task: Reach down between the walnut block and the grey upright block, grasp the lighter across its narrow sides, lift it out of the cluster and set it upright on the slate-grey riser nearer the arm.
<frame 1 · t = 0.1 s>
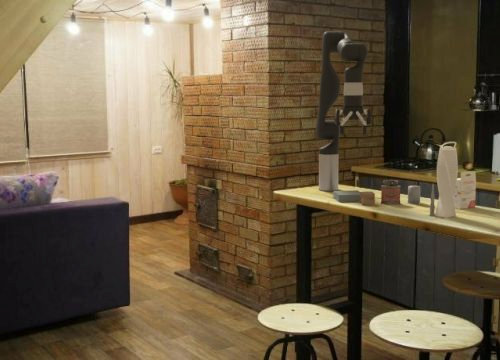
hand: (352, 135, 246), 29 cm above the bar counter, fingers open, 8 cm apart
grey upright block: (413, 202, 257), on the bar counter
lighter: (390, 203, 256), on the bar counter
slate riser: (348, 199, 267), on the bar counter
skyscraper: (444, 217, 230), on the bar counter
ink cartridge box: (462, 207, 246), on the bar counter
walnut block: (367, 204, 256), on the bar counter
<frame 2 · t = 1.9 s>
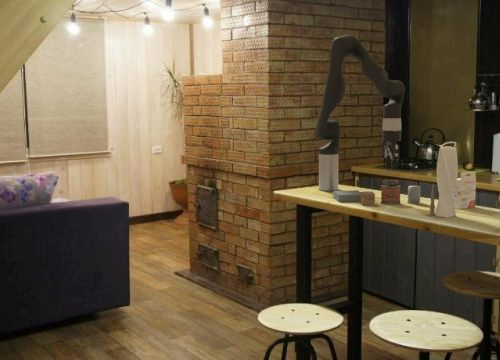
hand: (391, 168, 254), 15 cm above the bar counter, fingers open, 8 cm apart
nothing on the bar counter moved.
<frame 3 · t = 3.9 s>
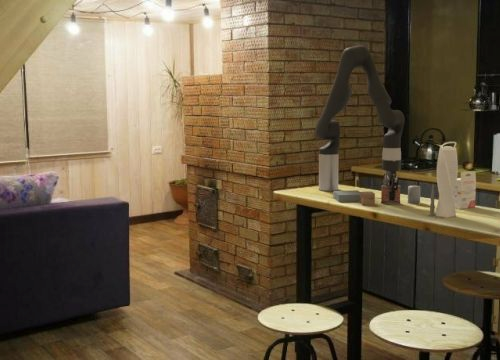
hand: (390, 199, 256), 2 cm above the bar counter, fingers closed on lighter, 3 cm apart
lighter: (390, 203, 256), on the bar counter, touching gripper
everything else where it was.
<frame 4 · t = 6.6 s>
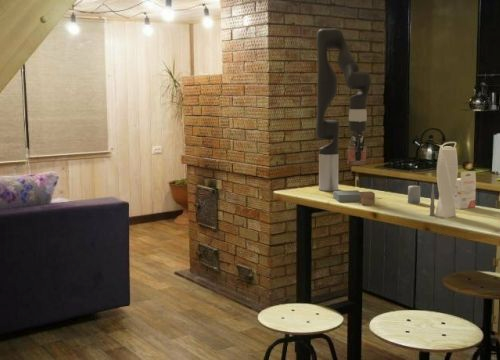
hand: (356, 159, 263), 17 cm above the bar counter, fingers closed on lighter, 3 cm apart
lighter: (356, 164, 263), point 16 cm above the bar counter, touching gripper
everything else where it was.
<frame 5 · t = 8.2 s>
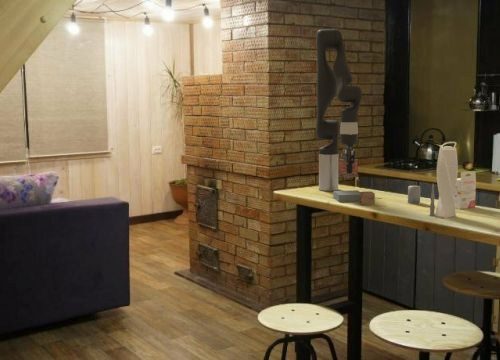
hand: (348, 172, 265), 12 cm above the bar counter, fingers closed on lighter, 3 cm apart
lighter: (348, 176, 265), point 10 cm above the bar counter, touching gripper
everything else where it was.
when the fingers open (6 cm above the bar counter, at t = 9.5 s): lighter drops 1 cm, resting on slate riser.
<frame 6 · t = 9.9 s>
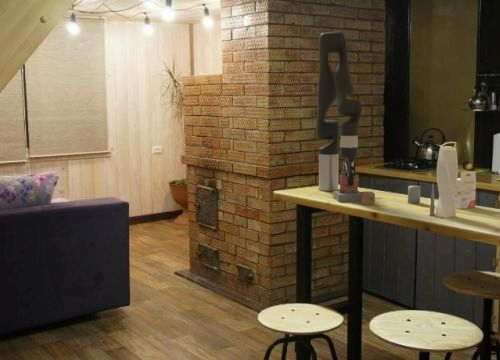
hand: (348, 184, 266), 7 cm above the bar counter, fingers open, 6 cm apart
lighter: (348, 193, 266), point 3 cm above the bar counter, touching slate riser
everything else where it was.
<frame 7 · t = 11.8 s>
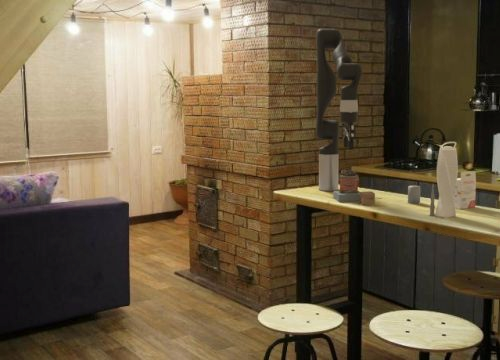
hand: (348, 148, 265), 22 cm above the bar counter, fingers open, 8 cm apart
nothing on the bar counter moved.
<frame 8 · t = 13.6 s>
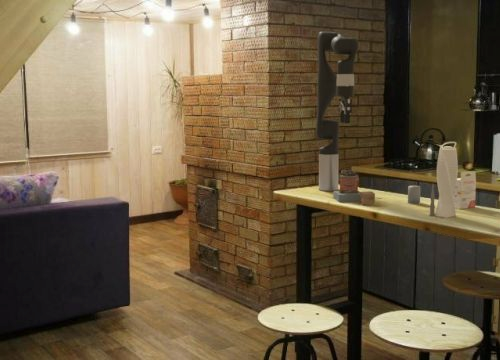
hand: (344, 122, 266), 33 cm above the bar counter, fingers open, 8 cm apart
nothing on the bar counter moved.
at the end: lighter inside the target area on the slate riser (0.4 cm from its centre), point 2.8 cm above the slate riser's base; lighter tilted 0°; the gripper is holding nothing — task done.
